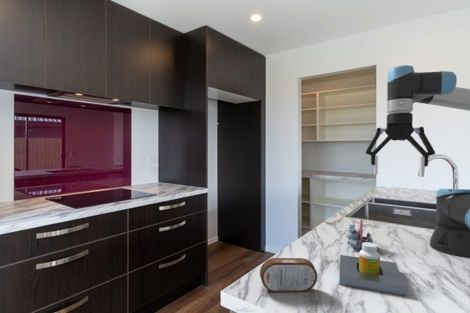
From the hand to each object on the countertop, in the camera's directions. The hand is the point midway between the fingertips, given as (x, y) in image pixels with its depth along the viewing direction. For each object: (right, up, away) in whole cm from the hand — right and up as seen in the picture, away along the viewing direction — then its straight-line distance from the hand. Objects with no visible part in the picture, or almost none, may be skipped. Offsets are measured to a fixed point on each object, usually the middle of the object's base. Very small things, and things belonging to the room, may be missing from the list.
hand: (398, 175), depth 92 cm
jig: (-17, -29, -13) cm, 36 cm away
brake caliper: (-8, -29, +11) cm, 32 cm away
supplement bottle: (-17, -29, -13) cm, 36 cm away
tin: (-42, -29, -21) cm, 55 cm away
